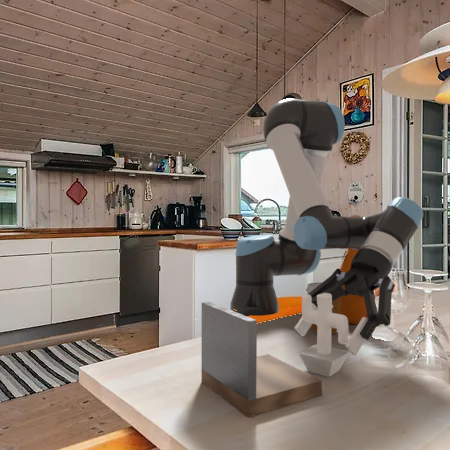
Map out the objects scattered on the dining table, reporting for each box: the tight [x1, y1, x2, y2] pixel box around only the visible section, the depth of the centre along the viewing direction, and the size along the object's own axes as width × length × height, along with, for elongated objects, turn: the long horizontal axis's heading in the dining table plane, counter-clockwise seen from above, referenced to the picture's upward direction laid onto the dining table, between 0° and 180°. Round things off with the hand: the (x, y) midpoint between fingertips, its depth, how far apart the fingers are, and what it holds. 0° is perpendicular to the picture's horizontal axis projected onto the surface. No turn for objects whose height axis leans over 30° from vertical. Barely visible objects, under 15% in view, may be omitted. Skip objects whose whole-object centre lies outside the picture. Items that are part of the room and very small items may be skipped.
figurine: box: [298, 293, 351, 378], centre depth 81 cm, size 7×9×15 cm
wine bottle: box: [339, 214, 369, 325], centre depth 118 cm, size 10×10×30 cm
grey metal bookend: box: [201, 301, 258, 401], centre depth 69 cm, size 2×15×12 cm, turn 31°
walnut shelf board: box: [201, 353, 323, 418], centre depth 73 cm, size 15×15×2 cm
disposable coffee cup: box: [305, 282, 342, 335], centre depth 108 cm, size 10×10×12 cm
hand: (322, 341), depth 80 cm, fingers open, 13 cm apart
